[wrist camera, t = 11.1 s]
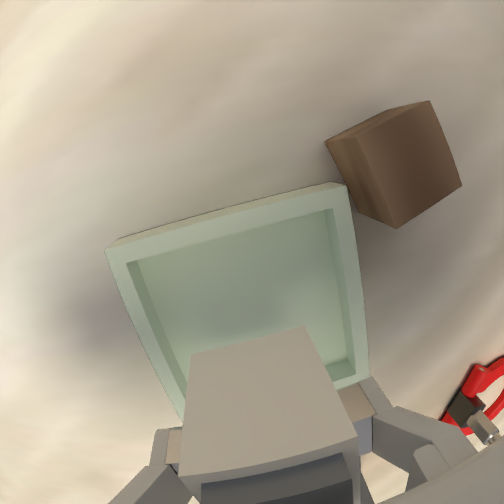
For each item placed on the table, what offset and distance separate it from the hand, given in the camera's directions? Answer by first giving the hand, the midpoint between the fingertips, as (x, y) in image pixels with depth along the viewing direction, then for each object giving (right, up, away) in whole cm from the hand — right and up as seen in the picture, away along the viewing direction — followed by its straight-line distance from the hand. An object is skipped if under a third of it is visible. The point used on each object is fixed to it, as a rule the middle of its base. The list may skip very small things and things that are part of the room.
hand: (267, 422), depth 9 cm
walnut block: (+6, +10, +6) cm, 13 cm away
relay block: (0, +1, +2) cm, 2 cm away
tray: (-1, +2, +8) cm, 8 cm away
